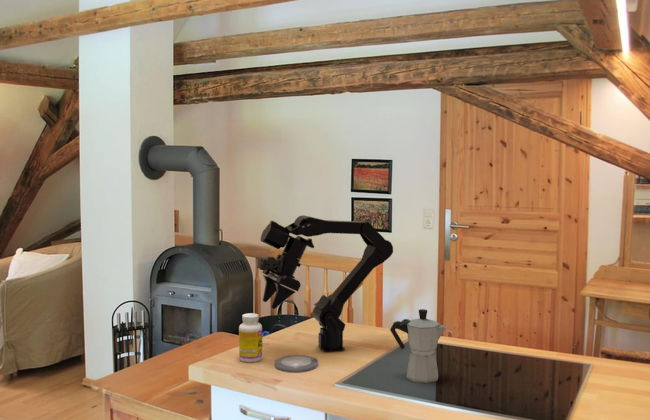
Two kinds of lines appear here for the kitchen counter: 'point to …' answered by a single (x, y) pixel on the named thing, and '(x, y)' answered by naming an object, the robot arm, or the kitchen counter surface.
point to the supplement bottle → (250, 338)
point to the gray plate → (296, 363)
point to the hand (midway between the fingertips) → (268, 304)
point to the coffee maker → (420, 346)
